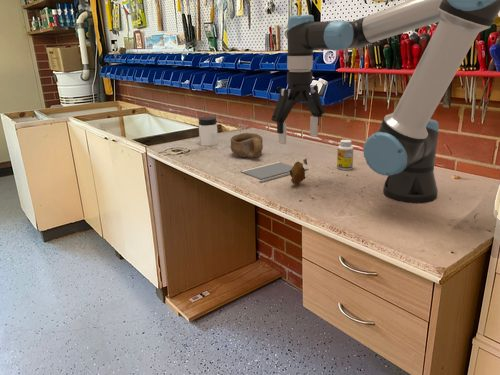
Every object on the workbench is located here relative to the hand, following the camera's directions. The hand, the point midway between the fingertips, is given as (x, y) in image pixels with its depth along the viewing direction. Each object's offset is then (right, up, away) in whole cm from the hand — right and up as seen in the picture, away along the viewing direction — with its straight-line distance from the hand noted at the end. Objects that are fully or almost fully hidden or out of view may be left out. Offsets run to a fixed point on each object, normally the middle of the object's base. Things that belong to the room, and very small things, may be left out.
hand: (298, 140), depth 134 cm
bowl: (-15, -2, +40) cm, 43 cm away
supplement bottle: (+19, -8, +20) cm, 29 cm away
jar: (-34, +5, +62) cm, 71 cm away
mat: (-8, -9, +20) cm, 23 cm away
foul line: (-3, -11, +14) cm, 18 cm away
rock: (+1, -14, +5) cm, 15 cm away
